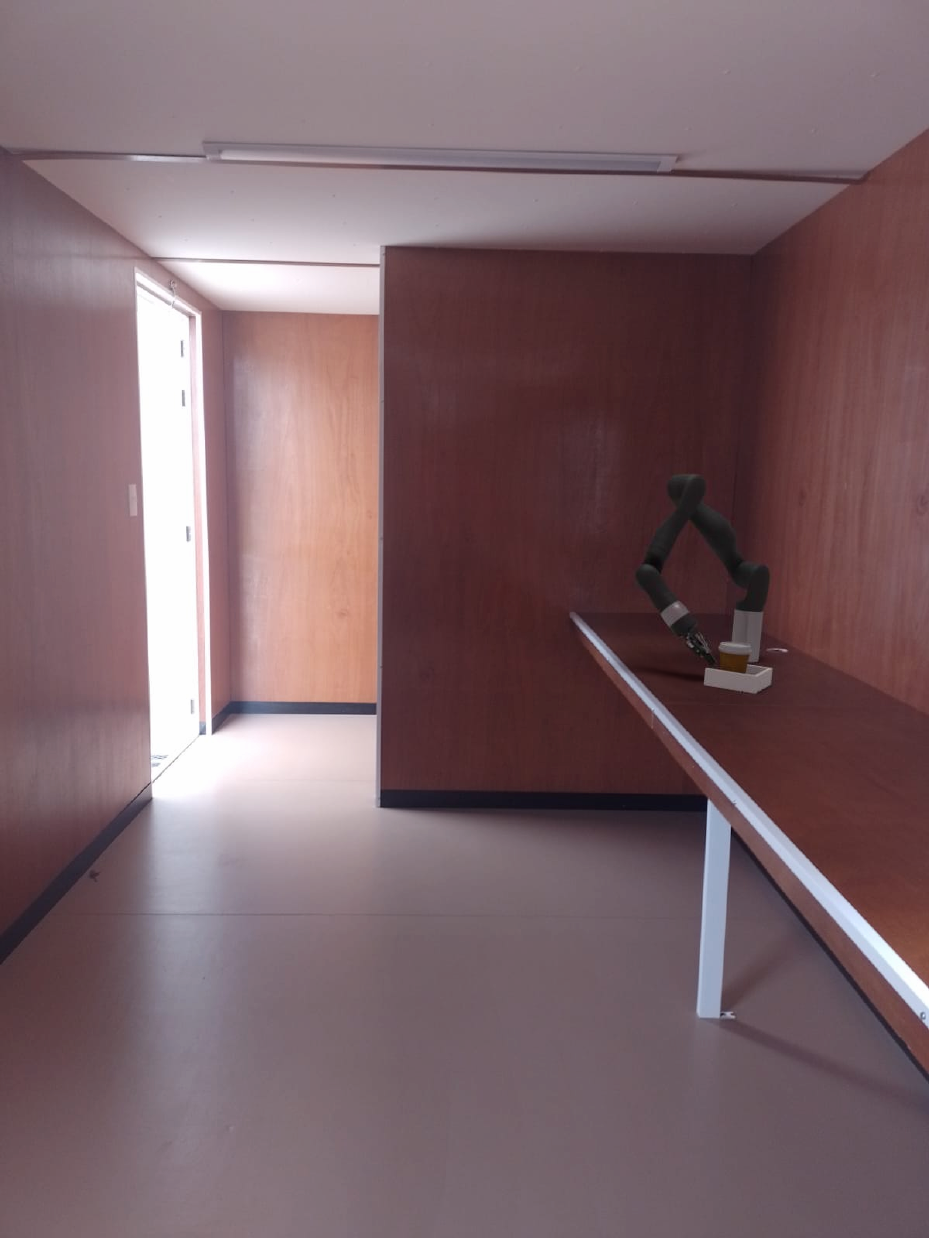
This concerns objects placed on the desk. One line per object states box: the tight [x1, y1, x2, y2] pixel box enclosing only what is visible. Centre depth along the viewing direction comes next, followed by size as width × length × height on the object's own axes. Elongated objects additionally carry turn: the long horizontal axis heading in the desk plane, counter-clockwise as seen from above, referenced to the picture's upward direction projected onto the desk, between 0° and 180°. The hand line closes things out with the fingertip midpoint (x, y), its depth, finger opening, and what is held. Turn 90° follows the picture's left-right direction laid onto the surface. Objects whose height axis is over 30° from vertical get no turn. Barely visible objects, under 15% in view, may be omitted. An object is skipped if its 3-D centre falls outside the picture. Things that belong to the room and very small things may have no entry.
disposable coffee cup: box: [718, 641, 752, 674], centre depth 264 cm, size 10×10×12 cm
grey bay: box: [703, 663, 773, 695], centre depth 264 cm, size 16×15×5 cm
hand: (714, 664), depth 268 cm, fingers closed
